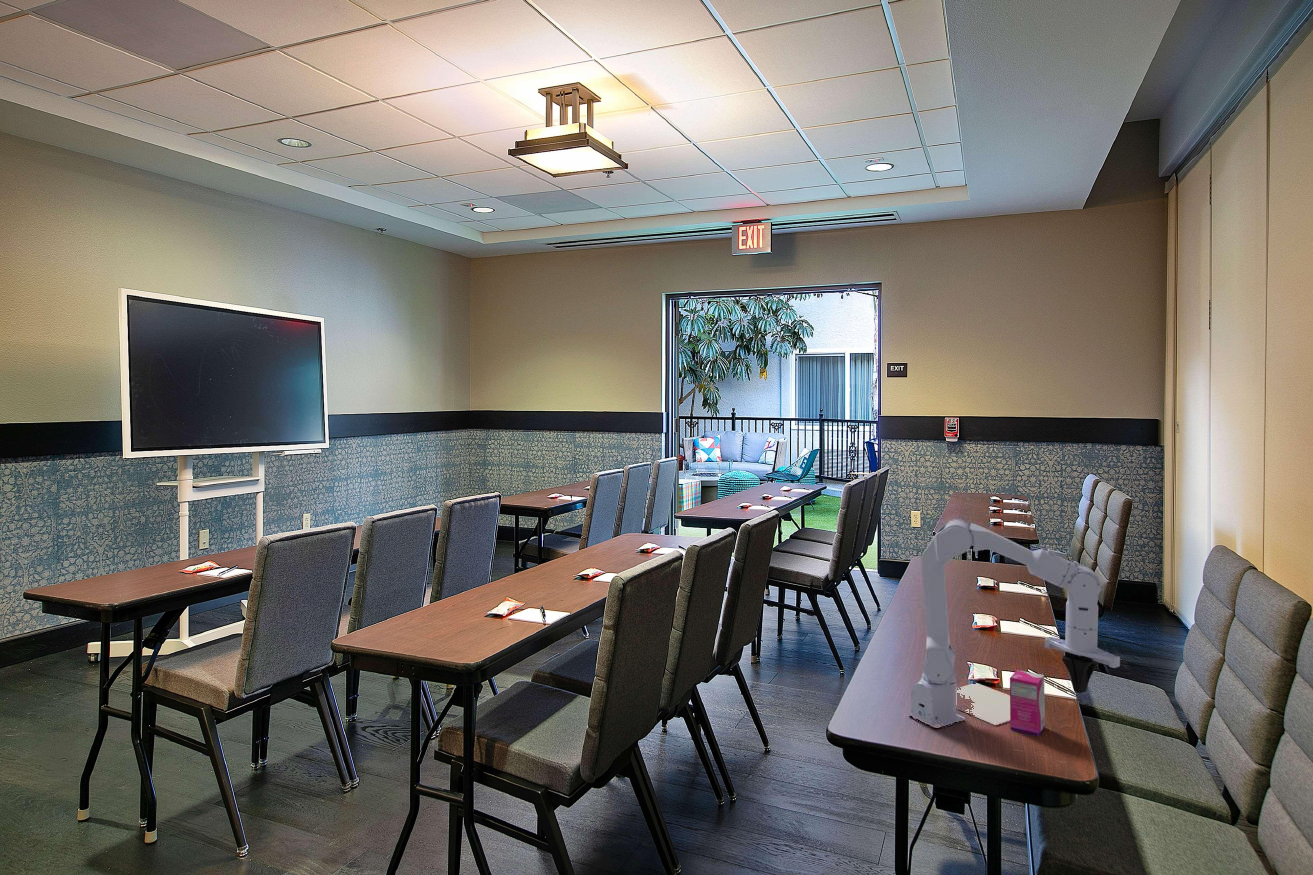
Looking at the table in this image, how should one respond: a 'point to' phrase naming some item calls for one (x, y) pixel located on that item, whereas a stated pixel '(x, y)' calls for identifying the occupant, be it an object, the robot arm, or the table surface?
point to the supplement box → (1027, 702)
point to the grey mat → (987, 703)
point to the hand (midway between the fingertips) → (1080, 691)
